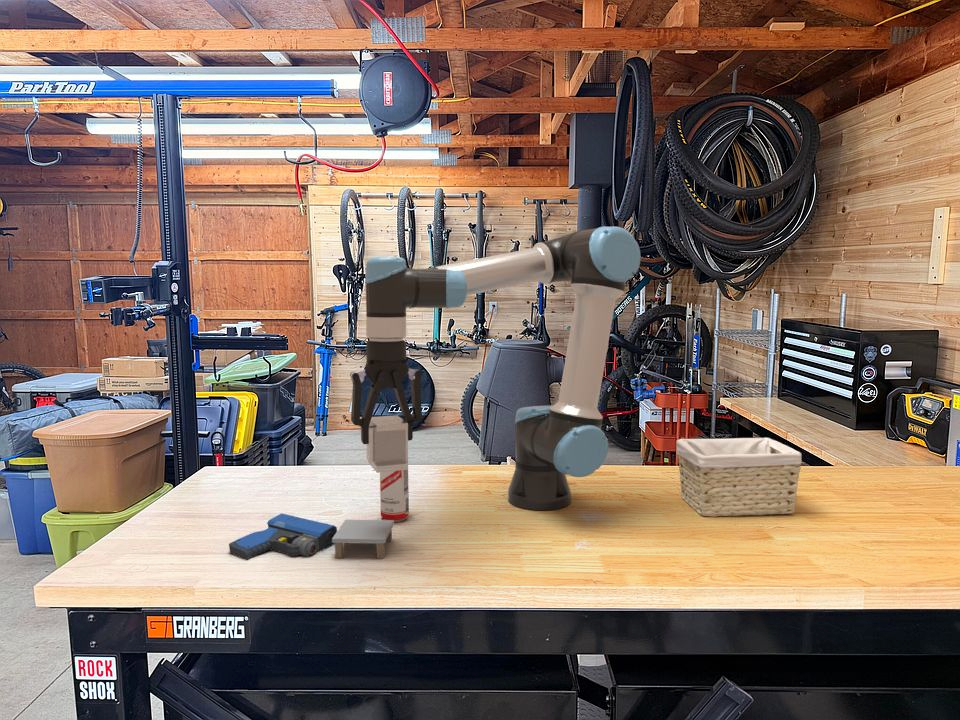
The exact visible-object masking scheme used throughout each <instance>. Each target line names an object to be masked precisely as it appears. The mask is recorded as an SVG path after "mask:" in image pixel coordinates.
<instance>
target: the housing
mask: <svg viewBox="0 0 960 720" xmlns="http://www.w3.org/2000/svg"><path fill="white" fill-rule="evenodd" d="M370 426H371V427H373V456H374V462H369V461H368V460H367V463H368V464H369V465H370V466H371V468H372V469H373V470H374V472H376V473H377V474H380V472H390V471H400V470H408V471H409V462H408V463H407V462H406V429H408V423H407V422H406V421H404V418H403V417H402V418H401V417H400V416H399V415H384V416H372V418H371V421H370Z"/></svg>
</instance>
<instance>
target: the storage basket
mask: <svg viewBox="0 0 960 720" xmlns="http://www.w3.org/2000/svg"><path fill="white" fill-rule="evenodd" d="M675 444H676V452H675V453H676V454H677V458H678V464H679V465H678V469H679V470H678V471H679V481H680V495H681V498H682V500H683V501H685V502H686V503H687V504H688V505H689V506H690V507H691V508H692V509H693V510H694V511H696V512H697V513H698V515H701V516H702V517H703V516H704V517H711V518H712V517H715V518H716V517H727V516H728V517H729V516H730V517H731V516H732V517H738V516H764V515H765V516H766V515H771V516H773V515H784V514H787V515H788V514H794V513H795V509H796V502H797V493H798V485H799V484H798V483H799V478H800V473H801V464H802V452H800V451H798V450H796V449H794V448H792V447H790V446H789V445H787V444H785V443H784V444H783V443H782V442H780V441H777V440H775V439H772V438H770V437H738V438H737V437H735V438H680V439H677V440H676V443H675Z"/></svg>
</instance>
